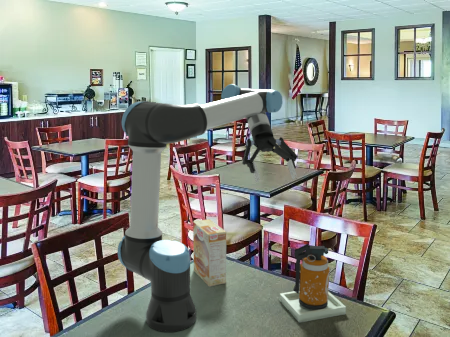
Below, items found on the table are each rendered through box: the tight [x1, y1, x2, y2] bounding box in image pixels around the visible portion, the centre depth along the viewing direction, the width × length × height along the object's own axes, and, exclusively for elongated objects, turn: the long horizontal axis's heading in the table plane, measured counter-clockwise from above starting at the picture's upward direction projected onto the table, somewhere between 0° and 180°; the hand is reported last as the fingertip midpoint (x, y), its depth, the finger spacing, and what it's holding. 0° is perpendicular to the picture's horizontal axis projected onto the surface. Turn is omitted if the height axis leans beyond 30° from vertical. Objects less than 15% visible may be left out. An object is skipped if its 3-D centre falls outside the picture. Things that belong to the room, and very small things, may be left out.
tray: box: [279, 290, 347, 324], centre depth 146 cm, size 16×14×2 cm
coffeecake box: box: [192, 218, 227, 287], centre depth 166 cm, size 15×7×20 cm, turn 25°
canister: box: [292, 243, 331, 310], centre depth 144 cm, size 9×11×20 cm
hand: (276, 178), depth 156 cm, fingers open, 13 cm apart
